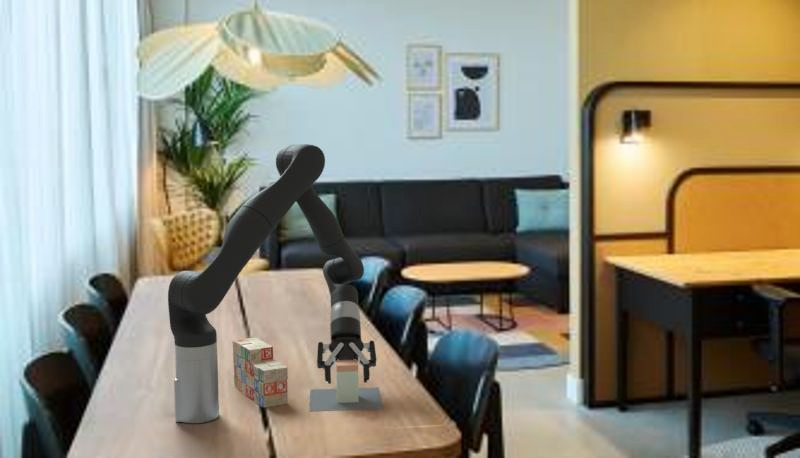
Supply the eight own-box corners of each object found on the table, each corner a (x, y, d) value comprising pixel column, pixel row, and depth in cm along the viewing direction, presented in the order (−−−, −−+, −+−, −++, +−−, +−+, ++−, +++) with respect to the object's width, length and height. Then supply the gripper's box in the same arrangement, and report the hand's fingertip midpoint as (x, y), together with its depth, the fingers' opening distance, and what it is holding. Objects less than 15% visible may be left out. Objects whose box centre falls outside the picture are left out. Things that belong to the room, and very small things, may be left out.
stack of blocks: (288, 405, 200) (287, 354, 198) (263, 409, 196) (262, 358, 195) (257, 383, 218) (255, 336, 217) (233, 386, 215) (232, 339, 214)
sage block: (337, 402, 199) (336, 365, 198) (337, 396, 204) (336, 360, 203) (358, 402, 200) (358, 365, 199) (357, 395, 205) (357, 359, 204)
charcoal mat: (309, 413, 193) (309, 411, 193) (310, 391, 210) (310, 389, 210) (383, 410, 195) (383, 408, 195) (378, 388, 212) (378, 387, 212)
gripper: (316, 316, 207) (317, 374, 197) (374, 314, 208) (378, 372, 198) (316, 332, 213) (317, 390, 203) (373, 330, 214) (376, 388, 204)
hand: (347, 381), depth 200 cm, fingers open, 8 cm apart
